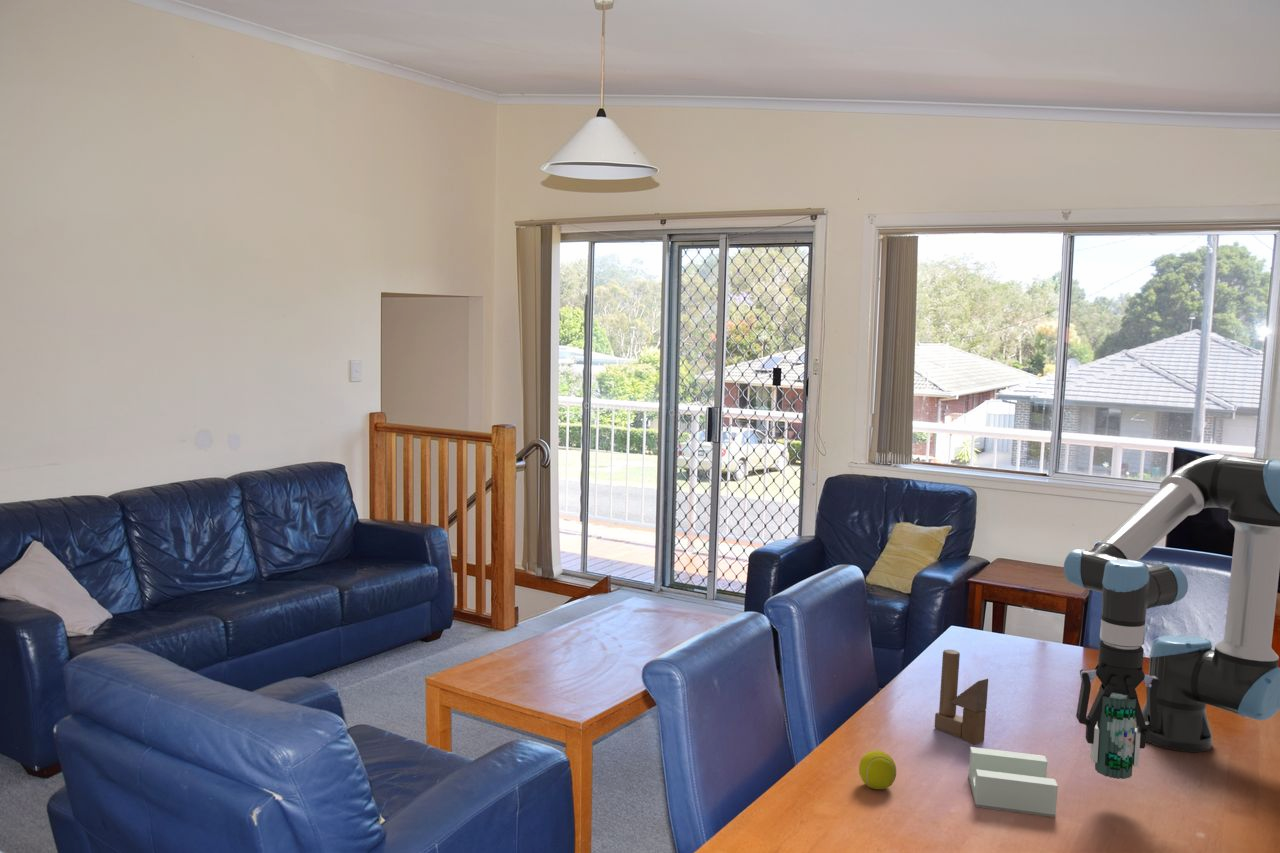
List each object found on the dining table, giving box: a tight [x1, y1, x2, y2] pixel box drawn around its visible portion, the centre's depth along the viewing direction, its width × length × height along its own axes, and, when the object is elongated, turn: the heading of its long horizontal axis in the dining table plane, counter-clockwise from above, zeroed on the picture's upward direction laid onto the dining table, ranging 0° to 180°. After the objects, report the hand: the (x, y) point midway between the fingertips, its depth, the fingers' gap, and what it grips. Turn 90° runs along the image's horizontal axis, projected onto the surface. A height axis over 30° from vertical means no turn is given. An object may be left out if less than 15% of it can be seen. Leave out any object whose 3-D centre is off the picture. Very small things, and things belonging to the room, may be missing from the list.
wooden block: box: [934, 649, 989, 745], centre depth 222 cm, size 4×11×18 cm, turn 36°
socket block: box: [967, 746, 1059, 818], centre depth 193 cm, size 14×14×6 cm
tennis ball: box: [858, 750, 897, 790], centre depth 195 cm, size 7×7×7 cm
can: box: [1094, 692, 1136, 780], centre depth 190 cm, size 6×6×15 cm
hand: (1113, 761), depth 191 cm, fingers closed on can, 6 cm apart
